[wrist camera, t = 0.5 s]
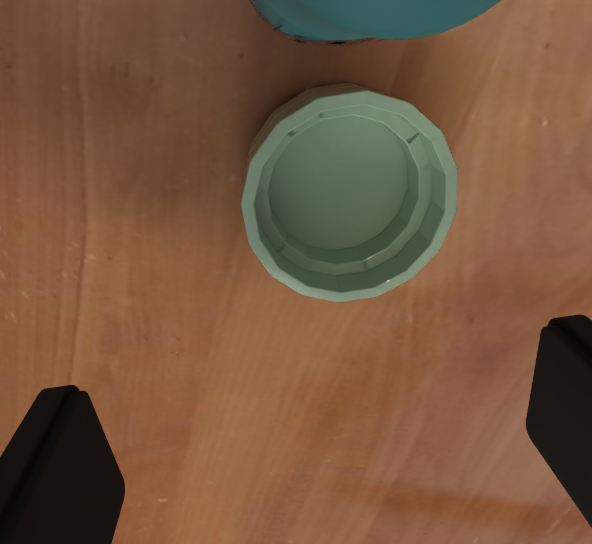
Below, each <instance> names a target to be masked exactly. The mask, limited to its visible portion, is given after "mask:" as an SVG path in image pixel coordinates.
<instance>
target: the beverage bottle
mask: <svg viewBox="0 0 592 544" xmlns="http://www.w3.org/2000/svg"><path fill="white" fill-rule="evenodd" d="M250 1H251V0H250ZM253 1H254V2H253V3H255V4H254V5H256V7H257V9H259V12H261V13H262V15H263V16H264V17H265V18H266V19H267V21H269V22H270V23H271V24H273V25H274V26H275V27H276V28H275V29H273V30H276V29H279V30H281V31H282V32H284V33H286V34H288V35H290V36H292V37H296V38H299V39H303V40H317V41H318V40H340V41H341V40H355V39H357V41H358V39H364V38H365V39H366V38H369V40H370V38H371V37H374V38H380V39H410V38H419V37H425V36H429V35H433V34H437V33H441V32H444V31H447V30H449V29H452V28H454V27H457V26H459V25H462V24H464V23H466V22H468V21H470V20H471V19H473V18H475V17H477V16H479V15H481V14H482V13H484V12H485V11H487V10H488V9H490V8H491V7H492V6H494V5H495V4H497V3H498V2H499V1H501V0H253ZM253 3H252V4H253ZM252 6H253V5H252ZM254 7H255V6H254ZM256 7H255V9H256ZM255 11H256V13H257V10H255ZM261 13H259V15H260V14H261ZM263 16H262V18H263V19H264V17H263ZM264 21H265V19H264ZM274 26H273V27H274ZM270 28H271V27H270ZM275 32H276V31H275ZM278 34H279V33H278ZM283 37H284V36H283ZM285 38H286V37H285ZM371 39H372V38H371ZM290 40H292V39H290ZM367 40H368V39H367ZM294 41H297V42H298V43H307V42H304V41H301V40H298V39H297V40H294ZM355 41H356V40H355ZM362 41H363V42H364V41H365V40H362ZM309 42H311V41H309ZM314 42H315V41H314ZM363 42H362V43H363ZM365 42H366V41H365ZM376 42H377V41H376ZM342 43H346V42H336V41H335V42H333V43H329V44H340V45H341V44H342ZM360 43H361V42H360ZM327 44H328V43H327ZM356 44H357V43H356ZM358 44H359V43H358ZM367 44H368V43H367ZM312 45H315V44H312ZM318 45H319V44H318ZM320 45H323V44H320ZM344 45H345V44H344ZM348 45H349V42H348ZM350 45H351V43H350ZM362 45H363V44H362ZM334 46H335V45H334ZM336 46H337V45H336ZM345 46H347V44H346V45H345Z"/></svg>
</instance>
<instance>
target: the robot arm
mask: <svg viewBox="0 0 592 544" xmlns="http://www.w3.org/2000/svg"><path fill="white" fill-rule="evenodd" d="M526 429H527V432H528V435H529V437H530V439H531V441H532V442H533V444H534V445H535V446H536V448H537V449H538V451H539V452H540V454H541V455H542V457H543V458H544V459H545V461H546V462H547V464H548V465H549V467H550V468H551V470H552V471H553V472H554V474H555V475H556V477H557V478H558V480H559V481H560V482H561V484H562V485H563V487H564V488H565V490H566V491H567V493H568V494H569V495H570V497H571V498H572V500H573V501H574V503H575V504H576V506H577V507H578V508H579V510H580V511H581V513H582V514H583V516H584V517H585V519H586V520H587V521H588V523H589V524H590V526H591V527H592V320H590V319H589V318H588V317H586V316H585V315H573V316H566V317H558V318H553V319H551V320H550V321H549V323H548V326H546V327H543V329H542V330H541V334H540V340H539V346H538V352H537V358H536V364H535V370H534V376H533V382H532V388H531V394H530V400H529V406H528V412H527V418H526ZM124 496H125V484H124V479H123V477H122V474H121V472H120V469H119V467H118V465H117V462H116V460H115V457H114V455H113V453H112V450H111V448H110V445H109V443H108V441H107V438H106V436H105V433H104V431H103V429H102V426H101V424H100V421H99V419H98V416H97V414H96V412H95V409H94V407H93V404H92V402H91V400H90V397H89V395H88V393H87V392H86V391H79V389H78V388H77V387H76V386H75V385H68V386H61V387H54V388H47V389H44V390H42V391H41V392H40V393H39V394H38V396H37V398H36V399H35V401H34V402H33V404H32V406H31V407H30V409H29V411H28V412H27V414H26V416H25V417H24V419H23V421H22V422H21V424H20V426H19V427H18V429H17V430H16V432H15V434H14V435H13V437H12V439H11V440H10V442H9V444H8V445H7V447H6V449H5V450H4V452H3V454H2V455H1V457H0V544H111V543H112V539H113V536H114V532H115V529H116V525H117V522H118V518H119V515H120V511H121V508H122V504H123V501H124Z"/></svg>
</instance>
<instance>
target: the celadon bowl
mask: <svg viewBox="0 0 592 544" xmlns="http://www.w3.org/2000/svg"><path fill="white" fill-rule="evenodd" d="M457 185H458V169H457V166H456V164H455V161H454V159H453V156H452V154H451V151H450V149H449V147H448V144H447V142H446V139H445V137H444V134H443V132H442V131H441V130H440V129H439V128H438V127H437V126H436V125H434V124H433V123H432V122H431V121H430V120H429V119H428V118H427V117H426V116H425V115H423V114H422V113H421V112H420V111H419V110H418V109H417V108H416V107H415V106H413V105H412V104H411V103H409V102H407V101H405V100H402V99H400V98H397V97H395V96H392V95H390V94H388V93H385V92H381V91H378V90H375V89H371V88H368V87H364V86H361V85H357V84H354V83H342V84H335V85H328V86H322V87H315V88H310V89H307V90H306V91H304V92H303V93H301V94H299V95H298V96H296V97H295V98H293V99H291V100H290V101H288V102H287V103H285V104H283V105H282V106H280V107H279V108H277V109H275V111H273V112H272V114H271V115H270V117H269V118H268V119H267V121H266V122H265V124H264V125H263V127H262V128H261V129H260V131H259V132H258V134H257V135H256V136H255V138H254V139H253V141H252V142H251V145H250V148H249V153H248V157H247V162H246V166H245V171H244V175H243V180H242V193H241V208H242V213H243V218H244V223H245V229H246V234H247V239H248V242H249V245H250V247H251V248H252V249H253V251H254V252H255V254H256V255H257V257H258V258H259V259H260V261H261V262H262V264H263V265H264V267H265V268H266V270H267V271H268V272H269V274H270V275H271V276H273V277H274V278H276V279H277V280H279V281H281V282H282V283H284V284H285V285H287V286H289V287H290V288H292V289H293V290H295V291H296V292H298V293H300V294H301V295H304V296H309V297H315V298H320V299H325V300H330V301H335V302H344V301H351V300H357V299H363V298H370V297H376V296H379V295H381V294H383V293H385V292H387V291H389V290H391V289H393V288H394V287H396V286H398V285H400V284H402V283H404V282H406V281H408V280H410V279H412V277H414V276H415V275H416V274H417V273H418V272H419V271H420V270H421V268H422V267H423V266H424V265H425V264H426V263H427V262H428V261H429V260H430V259H431V258H432V257H433V256H434V255H435V254H436V253H437V252H438V251H439V248H441V246H442V243H443V241H444V239H445V237H446V234H447V232H448V230H449V228H450V225H451V223H452V221H453V219H454V216H455V214H456V211H457Z"/></svg>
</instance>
